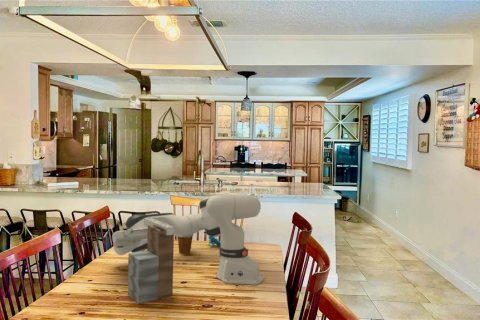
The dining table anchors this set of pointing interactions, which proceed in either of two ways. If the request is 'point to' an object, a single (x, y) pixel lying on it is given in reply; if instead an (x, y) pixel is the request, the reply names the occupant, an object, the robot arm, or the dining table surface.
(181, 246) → the disposable coffee cup
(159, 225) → the steel bar
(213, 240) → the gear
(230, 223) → the robot arm
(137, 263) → the stand
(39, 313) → the dining table surface
